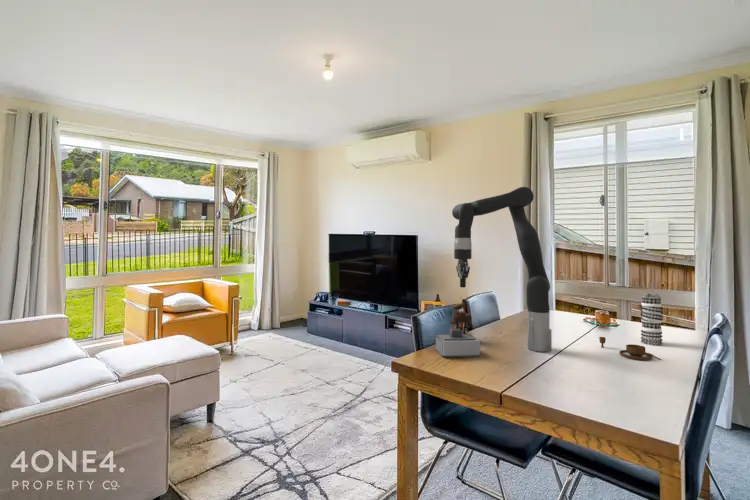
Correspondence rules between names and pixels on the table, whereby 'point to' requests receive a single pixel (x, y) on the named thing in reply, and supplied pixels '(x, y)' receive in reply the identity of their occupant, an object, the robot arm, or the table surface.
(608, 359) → the table surface
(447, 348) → the grey drawer
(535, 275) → the robot arm
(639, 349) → the place setting
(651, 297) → the decorative candle
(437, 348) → the grey drawer box
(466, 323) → the brown tall lumpy piece
